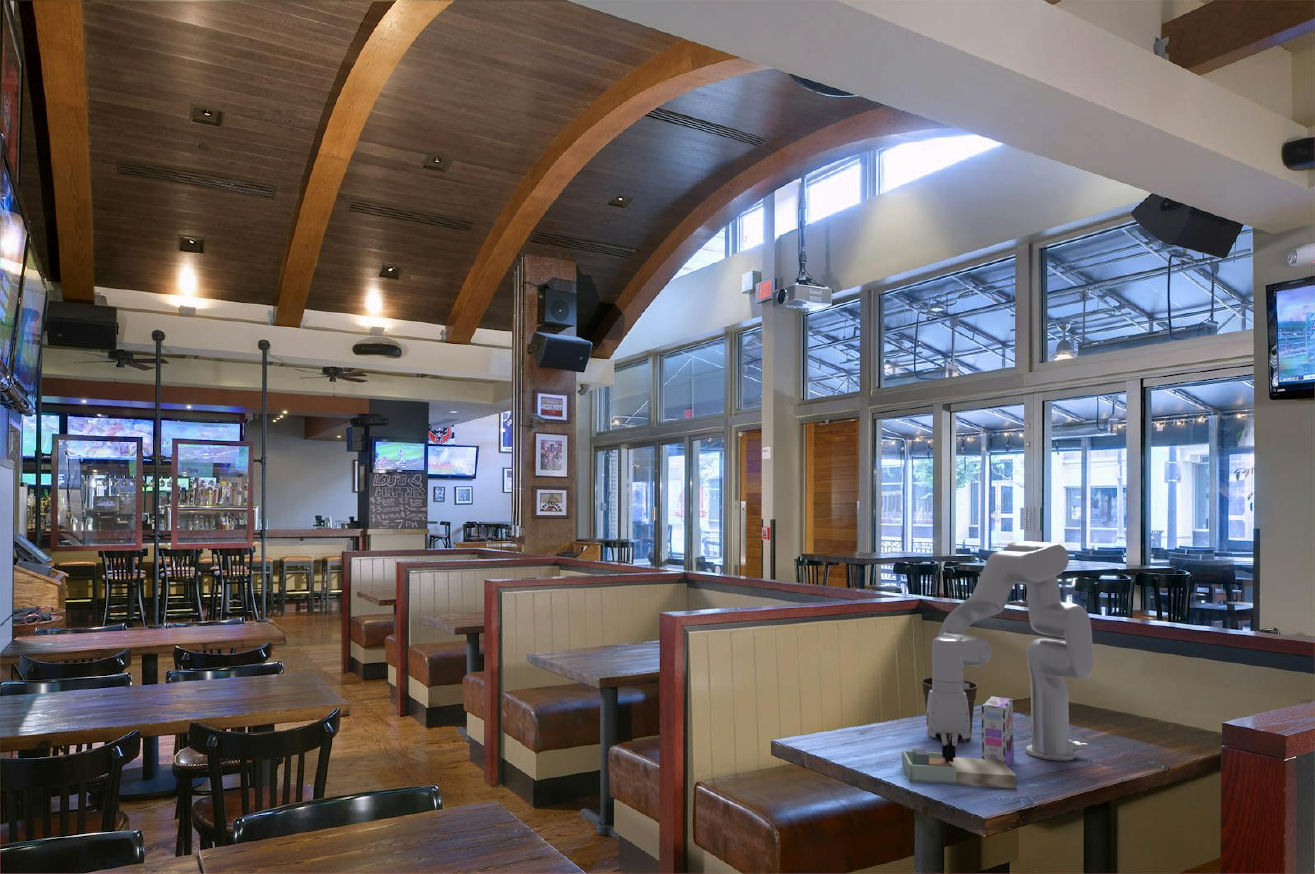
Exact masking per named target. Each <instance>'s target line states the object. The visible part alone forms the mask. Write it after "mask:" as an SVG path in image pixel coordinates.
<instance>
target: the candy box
mask: <svg viewBox="0 0 1315 874" xmlns="http://www.w3.org/2000/svg"><path fill="white" fill-rule="evenodd" d="M1013 704H1014V703H1013V698H1009V697H1008V698H1007V697H999V696H998V697H997V696H992V695H991V696H990V698H988V699H987V700H986V701H985V702H984V703H982V705H981V740H982V741H981V744H982V745H981V747H982V748H981V749H982V750H981V751H982V753H981V756H982V757H981V759H994V760H1002V761H1003V762H1004V763H1005V764H1006V765H1007V766H1008V767H1009V768H1010V765H1011V764H1012V763H1013V761H1014V760H1015V758H1014V757H1015V756H1014V755H1015V754H1014V753H1015V752H1014V751H1015V748H1014V714H1013V713H1014V711H1013V707H1014V706H1013Z"/></svg>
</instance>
